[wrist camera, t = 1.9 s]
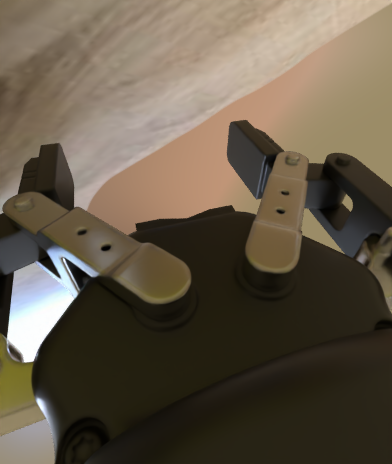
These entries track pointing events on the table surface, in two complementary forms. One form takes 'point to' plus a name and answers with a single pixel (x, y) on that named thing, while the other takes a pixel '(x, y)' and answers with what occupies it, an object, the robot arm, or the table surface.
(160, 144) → the table surface
